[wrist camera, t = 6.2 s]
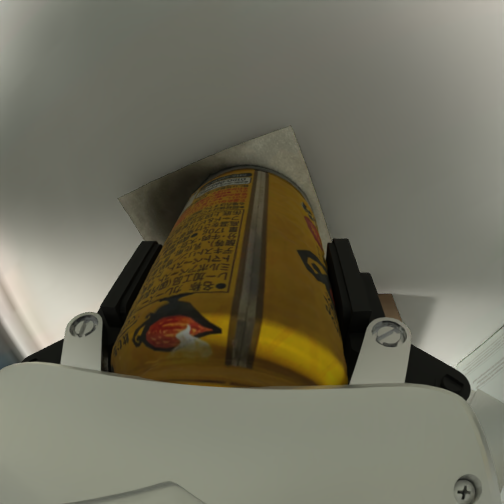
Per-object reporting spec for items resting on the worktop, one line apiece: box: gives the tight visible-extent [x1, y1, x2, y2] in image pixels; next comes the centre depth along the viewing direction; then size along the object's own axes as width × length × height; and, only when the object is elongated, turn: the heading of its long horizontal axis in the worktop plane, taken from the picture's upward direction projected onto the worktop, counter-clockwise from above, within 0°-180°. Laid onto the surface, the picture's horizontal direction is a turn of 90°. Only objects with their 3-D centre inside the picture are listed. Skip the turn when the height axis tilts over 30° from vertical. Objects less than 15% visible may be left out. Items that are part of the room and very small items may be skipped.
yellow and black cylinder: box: [111, 126, 348, 388], centre depth 10 cm, size 7×8×12 cm
